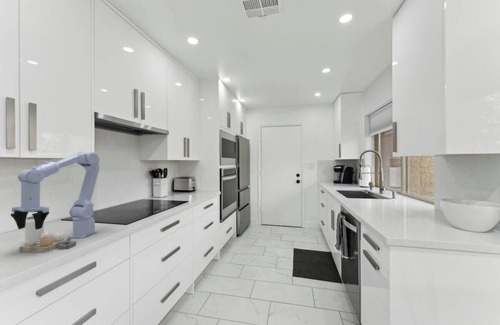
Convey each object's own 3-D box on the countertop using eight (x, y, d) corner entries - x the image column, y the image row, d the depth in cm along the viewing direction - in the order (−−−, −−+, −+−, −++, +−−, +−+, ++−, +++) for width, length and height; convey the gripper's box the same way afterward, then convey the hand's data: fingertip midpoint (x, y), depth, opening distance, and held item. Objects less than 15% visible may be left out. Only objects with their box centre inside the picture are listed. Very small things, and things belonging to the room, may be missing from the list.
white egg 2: (58, 239, 105) (58, 230, 105) (67, 240, 105) (67, 230, 105) (49, 243, 100) (49, 233, 100) (58, 243, 100) (58, 233, 100)
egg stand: (66, 244, 102) (66, 241, 102) (77, 244, 102) (77, 241, 102) (55, 249, 97) (55, 245, 97) (67, 249, 96) (67, 245, 96)
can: (47, 239, 108) (47, 215, 108) (35, 244, 102) (35, 218, 102) (34, 239, 108) (34, 215, 108) (20, 244, 102) (21, 218, 102)
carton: (46, 241, 106) (46, 237, 106) (70, 241, 105) (70, 238, 105) (19, 251, 94) (19, 247, 94) (46, 252, 93) (46, 247, 93)
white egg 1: (46, 239, 105) (46, 230, 105) (55, 239, 105) (55, 230, 105) (37, 242, 100) (37, 233, 100) (46, 243, 100) (46, 233, 100)
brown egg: (36, 248, 95) (36, 238, 95) (46, 244, 99) (46, 234, 99) (46, 248, 94) (46, 238, 94) (55, 244, 99) (55, 234, 99)
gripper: (3, 198, 90) (3, 231, 90) (37, 199, 90) (37, 231, 90) (21, 195, 97) (21, 226, 97) (53, 196, 97) (53, 226, 97)
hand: (30, 228), depth 94 cm, fingers open, 7 cm apart
